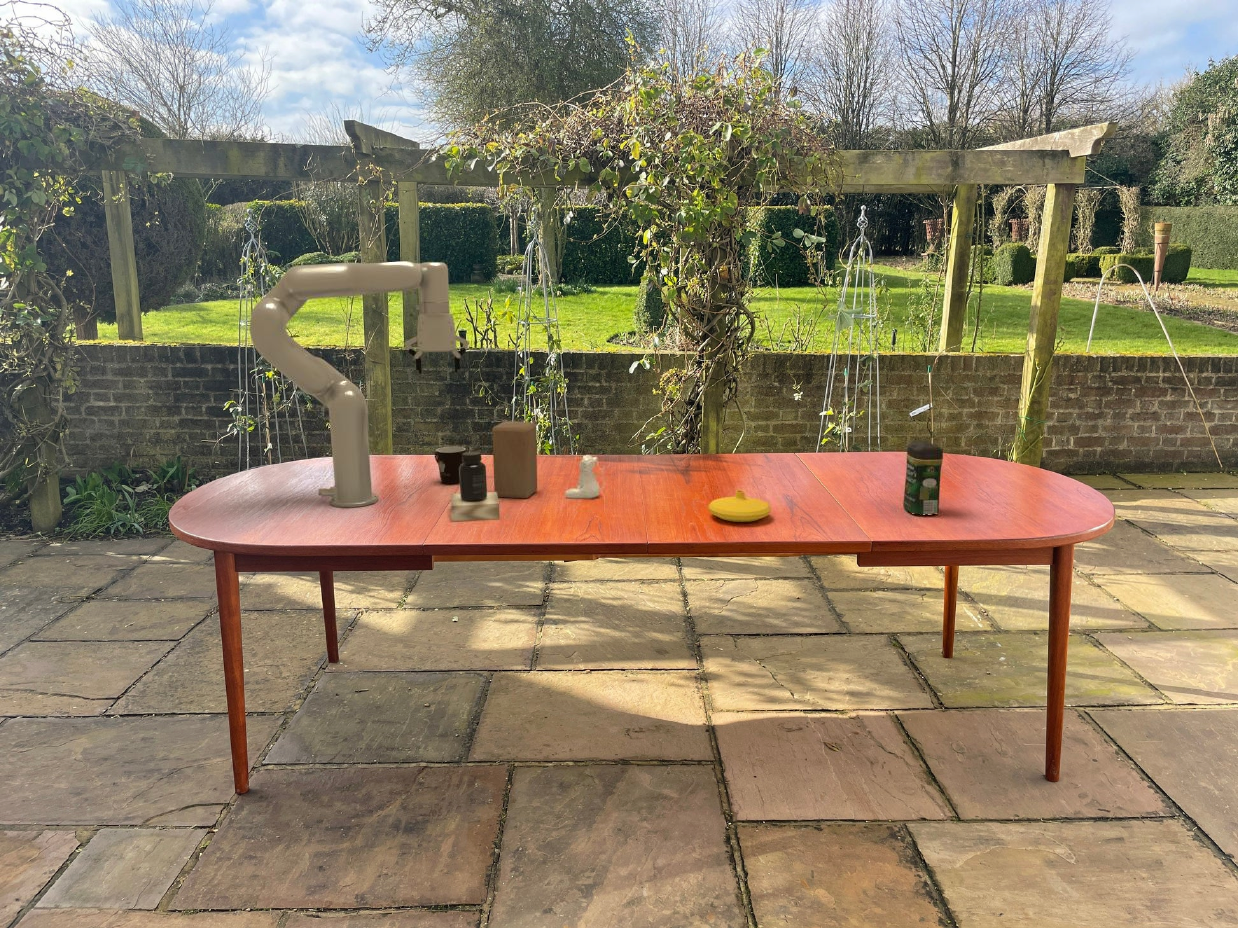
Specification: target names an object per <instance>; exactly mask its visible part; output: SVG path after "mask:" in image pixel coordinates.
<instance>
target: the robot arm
mask: <svg viewBox="0 0 1238 928" xmlns="http://www.w3.org/2000/svg"><path fill="white" fill-rule="evenodd" d="M415 289H416V290H417V289H419V291H420V293H419V295H420V296H419V298H420V304H415V311H420V312H421V313H420V314H418V315H417V317H418V318H417V325H416V326H417V330H416V331H417V332H416V333H417V335H416V336H414V337H412V338H410V339H408V340H407V341H405V342H404V343H403V345H404V347H405V348H406V350H407V352H408V353H409V354H410V355H411V356H412V357H413V359H415V371H418V374H419V375H420V374H422V373H423V370H422V369H423V367H422V358H421V356H422V354H423V353H445V352H446V353H449V352H451V353H452V354H453V355H454V358H453V359H454V360H453V361H454V373H456V374H458V370H461V361H460V359H461V357H462V356H464V354H465V353H466V351H467V350H468V347H469V345H470V341H469V340H467V339H465V338H463V337H461V336H459V335H457V334H456V326H455V325H456V324H455V320H454V315H453V314H452V313H450V310H451V309H450V292H449V291H450V290H449V289H450V288H449V268H448V265H447V264H446V263H445V262H441V261H439V262H438V261H436V262H435V261H434V262H433V261H430V262H422V263H419V262H418V263H417V262H411V261H408V260H403V261H402V260H401V261H392V262H391V261H390V262H388V261H387V262H373V263H371V262H370V263H363V262H362V263H361V262H339V263H338V262H337V263H322V264H321V263H320V264H303V265H294V266H292V267H290V268H289V269H288V270H286V272H285V273H284V274H283V276H282V277H280V279H279V281H278V282H277V283H276V284H275V285H274V286H273V287H272V288H271V289H270V290H269V291H268V293H267V294H266V295H264V297H263V298H262V299H261V300H260V301H258V302H257V303H256V304H255V306H254V307H253V309H252V312H251V316H250V322H249V334H250V338H251V342H252V344H253V346H254V348H255V349H256V351H257V353H258V354H259V355H260V356H261V357H263V359H264V360H265V361H267V362H268V363H269V364H270V365H272V366H273V367H274V369H276V370H277V371H278V372H280V373H281V375H283V376H285V378H287V379H288V380H289V381H291V382H292V383H293V384H294V385H296V386H297V388H299V390H301V391H302V392H303V393H305V394H307V395H309V396H310V395H311V396H312V397H313V398H315V399H316V400H317V401H319V402H320V403H321V404H323V405H324V406H325V407H326V408H328V414H329V427H330V428H329V429H330V441H331V453H332V454H331V455H332V463H333V464H332V466H333V467H332V468H333V477H334V479H333V480H334V484H333V486H331V487H330V488H323V487H322V488H318V489H317V491H318V492H317V493H318V496H320V497H322V498H326V497H330V498H329V503H330V505H332V506H334V507H337V508H357V507H365V506H369V505H372V504H373V505H374V504H376V502H378V501H379V495H378V494H376V493H374V492H373V490H372V476H371V475H372V473H371V461H370V459H371V458H370V444H369V443H370V442H369V429H368V428H369V427H368V424H369V423H368V405H367V400H366V397H365V395H364V394H363V392H362V391H361V389H360V388H359V387H358V386H357V385H356V384H354V383H353V382H352V381H351V380H350V379H348V378H347V377H346V376H344V374H342V373H341V372H340V371H338V370H337V369H336V368H335V367H334V366H332V365H331V364H330V363H329V362H327V361H326V360H325V359H323V358H321V357H318V356H314V355H313V354H311V353H310V352H309V351H308V350H306V349H305V348H304V347H303V346H302V345H301V344H299V342H297V341H296V340H294V339H293V338H292V337H291V336H290V335H289V334H288V332H287V328H286V327H287V324H288V323H289V322H290V320H292V319H293V317H294V316H295V315H296V314H298V312H299V311H300V310H301V309H302V307H303V306H304V305H305V304H306V303H307V301H308V300H312V299H313V300H315V299H329V298H330V299H331V298H342V297H344V298H345V297H358V296H360V297H361V296H364V295H372V294H385V293H396V292H399V293H400V292H411V291H414V290H415ZM416 342H417V349H418V350H417V352H416V351H415V350H414V349H413V347H412V344H415V343H416ZM457 342H459V343H461V344H462V347H461V349H460V350H459V351H458V349H457Z"/></svg>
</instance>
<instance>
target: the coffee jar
mask: <svg viewBox="0 0 1238 928" xmlns="http://www.w3.org/2000/svg"><path fill="white" fill-rule="evenodd" d="M943 460H944V450H943V448H941V447H940V446H938V445H936V444H934V443H932V442H929V441H928V440H913V441H911V442H910V443H909V444H908V445H907V449H906V469H905V470H906V471H905V480H904V481H905V483H904V494H903V503H902V504H903V508H904V510H905V509H906V510H905V511H906V512H908V511H909V512H910V513H909V512H908V513H909V514H911V513H914V514H920V515H919V516H921V515H923V514H925V515H928V514H935V513H938V514H939V513H940V512H939V511H940V509H939V508H940V490H941V489H940V488H941V474H942V473H941V472H942V467H943V466H942V465H943Z"/></svg>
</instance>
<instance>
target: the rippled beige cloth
mask: <svg viewBox="0 0 1238 928" xmlns="http://www.w3.org/2000/svg"><path fill="white" fill-rule="evenodd" d="M450 514H451V515H450V516H451V519H450V520H451V522H463V521H465V522H466V521H481V520H482V521H484V520H485V521H486V520H499V519H500V516H501V515H500V514H501V513H500V501H499V497H498V496H497V492H494V491H489V492H488V491H487V498H486V499H484V500H481V501H474V502H469V501H463V500H462V499H461V495H460V493H451V494H450Z"/></svg>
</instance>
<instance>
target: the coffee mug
mask: <svg viewBox="0 0 1238 928" xmlns="http://www.w3.org/2000/svg"><path fill="white" fill-rule="evenodd" d="M466 450H467V449H466V448H465V447H463V446H443V447H439V448H437V449H435V452H434V459H435V461H436V463H437V465H438V471H439V472H438V473H439V478H440V482H441V484H442V485H444V486H445V485H446V486H454V485H456V486H457V485H460V478H459V467H460V465H461V464H462V463H463V461H462V454H463V453H466Z"/></svg>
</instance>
